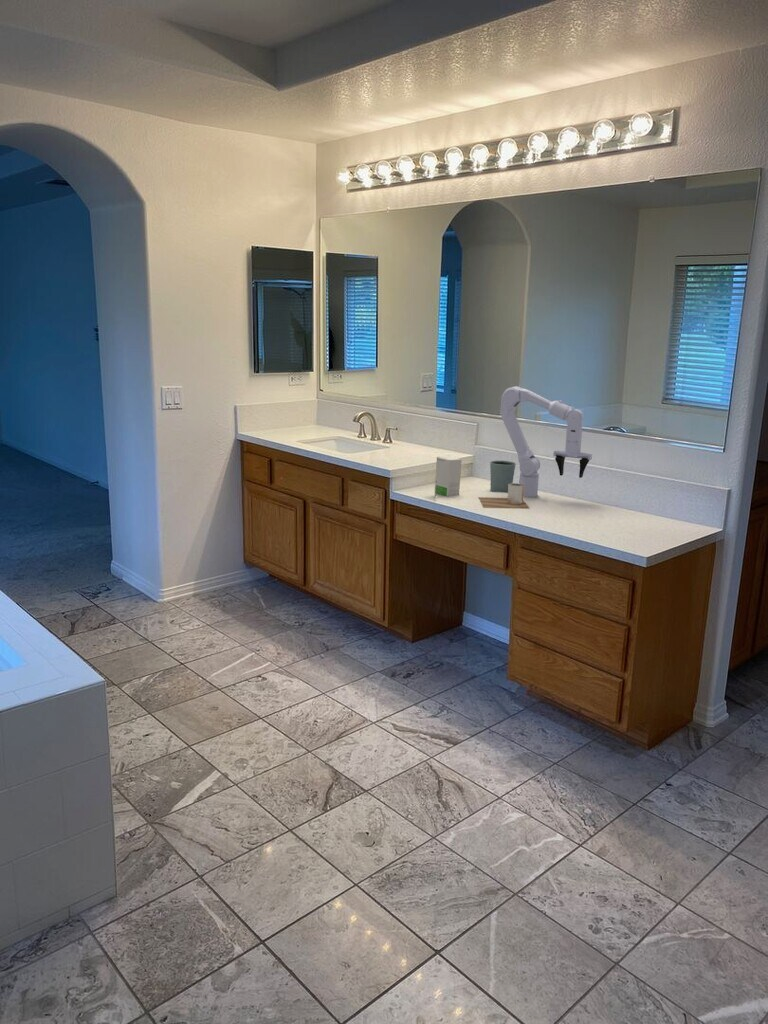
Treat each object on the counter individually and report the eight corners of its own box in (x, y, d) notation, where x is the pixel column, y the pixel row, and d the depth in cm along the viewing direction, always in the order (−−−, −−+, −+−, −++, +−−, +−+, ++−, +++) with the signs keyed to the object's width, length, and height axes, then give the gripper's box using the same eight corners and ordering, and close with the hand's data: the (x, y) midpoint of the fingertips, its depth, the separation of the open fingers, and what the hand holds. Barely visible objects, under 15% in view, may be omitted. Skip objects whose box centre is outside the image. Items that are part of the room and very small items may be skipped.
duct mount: (478, 499, 312) (478, 487, 311) (521, 500, 312) (522, 487, 311) (483, 510, 295) (484, 497, 294) (529, 511, 295) (530, 497, 294)
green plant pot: (485, 489, 332) (486, 460, 329) (507, 488, 335) (508, 459, 332) (495, 494, 323) (496, 465, 320) (518, 493, 326) (519, 464, 323)
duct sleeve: (505, 503, 302) (506, 485, 301) (510, 500, 307) (511, 482, 305) (519, 505, 300) (520, 486, 298) (524, 502, 304) (525, 484, 303)
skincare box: (434, 495, 319) (435, 456, 316) (446, 493, 323) (447, 455, 320) (448, 499, 313) (449, 459, 309) (460, 497, 317) (462, 458, 313)
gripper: (551, 440, 307) (549, 475, 310) (589, 444, 300) (586, 479, 303) (557, 438, 313) (555, 473, 316) (594, 441, 306) (591, 477, 309)
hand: (571, 476), depth 310 cm, fingers open, 7 cm apart
